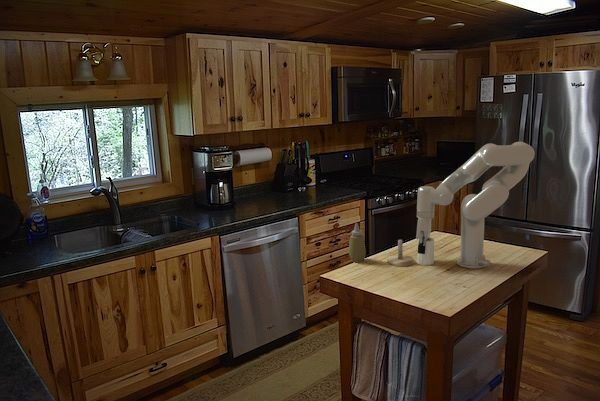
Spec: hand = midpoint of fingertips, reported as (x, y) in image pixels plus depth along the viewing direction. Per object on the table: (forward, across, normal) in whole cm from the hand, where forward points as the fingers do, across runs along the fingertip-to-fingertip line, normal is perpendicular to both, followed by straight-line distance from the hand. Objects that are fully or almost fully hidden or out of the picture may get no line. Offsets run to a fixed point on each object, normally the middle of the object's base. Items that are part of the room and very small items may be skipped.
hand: (423, 250), depth 219 cm
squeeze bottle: (+7, +6, -29) cm, 31 cm away
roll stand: (+6, +3, -10) cm, 12 cm away
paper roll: (+6, 0, +1) cm, 6 cm away
